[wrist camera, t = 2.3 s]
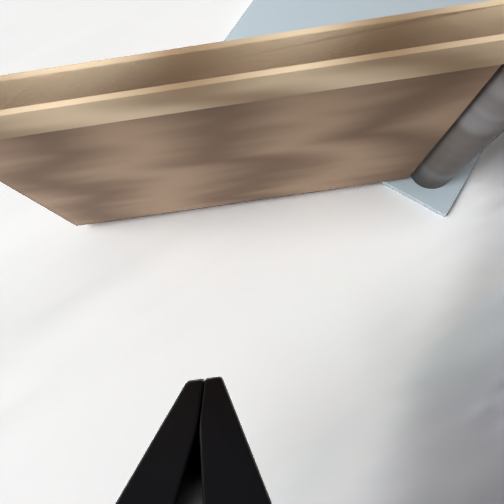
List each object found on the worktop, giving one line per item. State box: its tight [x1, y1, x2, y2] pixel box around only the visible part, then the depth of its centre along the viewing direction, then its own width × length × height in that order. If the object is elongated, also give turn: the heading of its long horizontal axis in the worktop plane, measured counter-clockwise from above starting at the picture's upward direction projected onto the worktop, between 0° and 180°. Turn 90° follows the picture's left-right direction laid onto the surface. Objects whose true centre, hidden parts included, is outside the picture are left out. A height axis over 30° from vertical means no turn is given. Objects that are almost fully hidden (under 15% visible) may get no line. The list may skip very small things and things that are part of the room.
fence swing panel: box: [0, 0, 504, 226], centre depth 17 cm, size 19×1×11 cm, turn 98°
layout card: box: [224, 0, 490, 216], centre depth 25 cm, size 17×17×1 cm
